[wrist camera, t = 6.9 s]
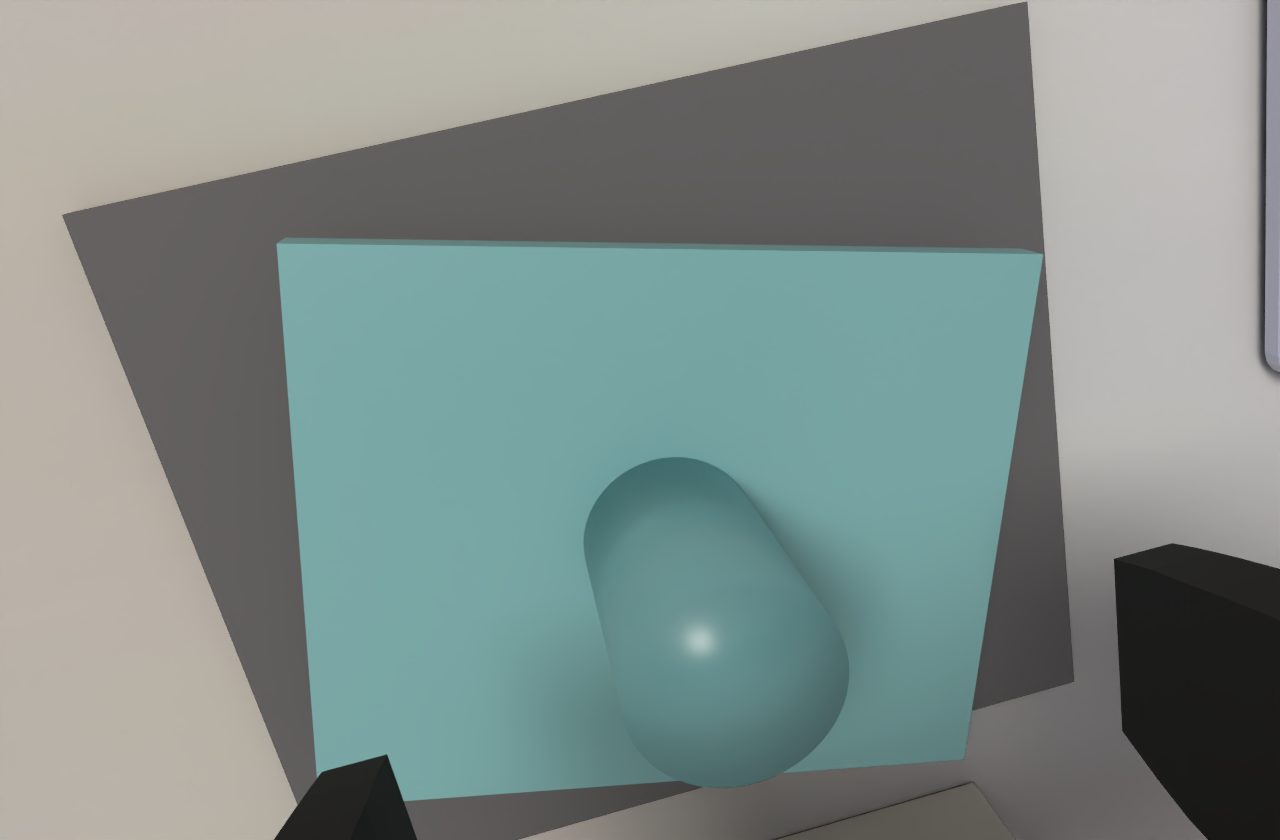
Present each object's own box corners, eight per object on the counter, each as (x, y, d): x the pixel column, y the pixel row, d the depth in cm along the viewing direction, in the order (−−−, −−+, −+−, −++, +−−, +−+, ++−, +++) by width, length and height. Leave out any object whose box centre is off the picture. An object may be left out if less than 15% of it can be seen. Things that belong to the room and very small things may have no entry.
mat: (1013, 4, 15) (1026, 1, 14) (1061, 670, 19) (1074, 681, 18) (73, 211, 14) (62, 214, 13) (335, 875, 18) (333, 891, 17)
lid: (995, 241, 16) (1247, 307, 10) (928, 712, 18) (1105, 949, 13) (295, 230, 14) (190, 303, 9) (332, 750, 16) (267, 1039, 11)
